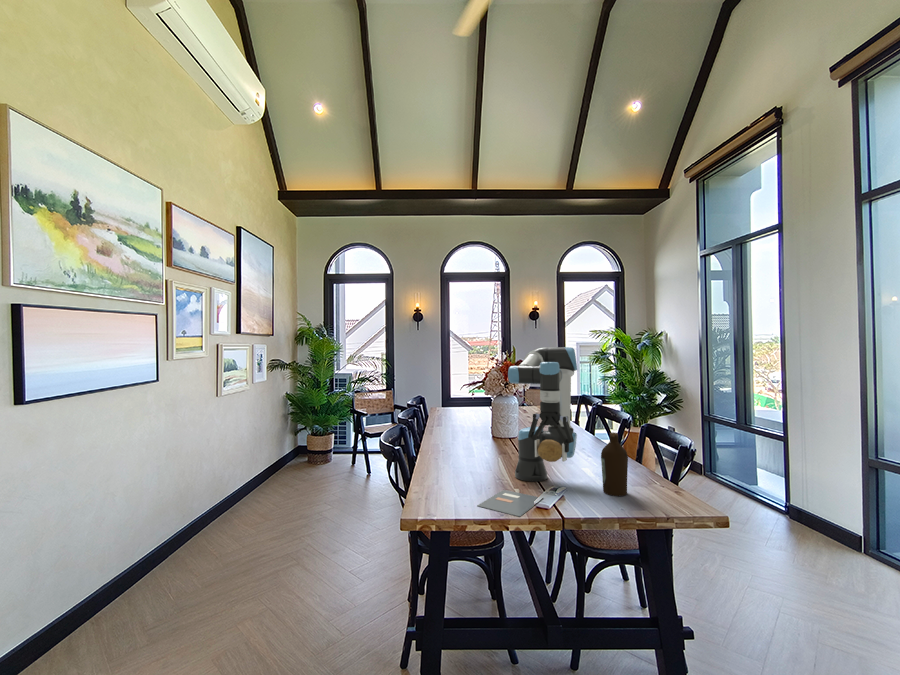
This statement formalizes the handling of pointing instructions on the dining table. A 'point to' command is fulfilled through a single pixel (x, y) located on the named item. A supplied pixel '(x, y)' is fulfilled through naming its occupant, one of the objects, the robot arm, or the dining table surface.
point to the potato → (550, 450)
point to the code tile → (509, 503)
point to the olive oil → (614, 467)
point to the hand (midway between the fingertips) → (550, 458)
